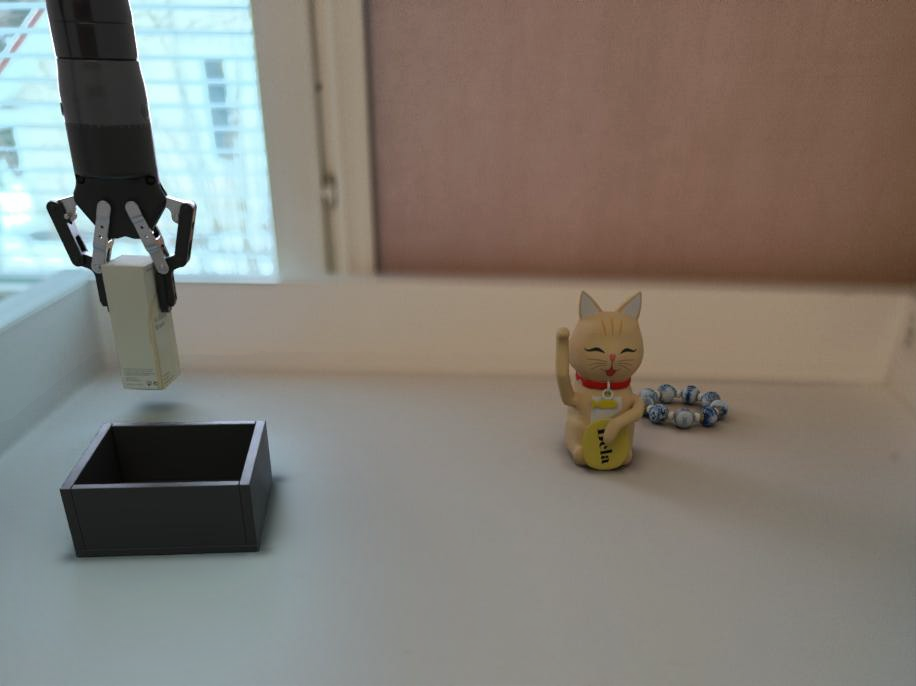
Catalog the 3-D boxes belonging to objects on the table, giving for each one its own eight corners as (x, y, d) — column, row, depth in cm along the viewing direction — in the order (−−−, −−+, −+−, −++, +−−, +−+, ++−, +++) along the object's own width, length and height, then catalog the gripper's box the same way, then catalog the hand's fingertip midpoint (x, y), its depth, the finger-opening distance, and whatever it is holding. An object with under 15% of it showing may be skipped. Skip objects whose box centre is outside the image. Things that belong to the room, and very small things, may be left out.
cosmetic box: (164, 392, 94) (144, 267, 87) (121, 390, 94) (98, 265, 87) (182, 373, 99) (165, 254, 92) (141, 372, 99) (121, 252, 92)
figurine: (553, 475, 84) (565, 307, 76) (543, 436, 92) (553, 281, 84) (645, 475, 84) (666, 308, 76) (627, 437, 92) (645, 282, 84)
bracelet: (621, 419, 97) (623, 401, 95) (650, 393, 104) (652, 376, 103) (712, 436, 93) (715, 417, 92) (735, 408, 100) (738, 390, 99)
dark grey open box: (76, 557, 69) (58, 489, 66) (116, 484, 80) (103, 423, 77) (258, 551, 70) (249, 484, 67) (272, 480, 82) (265, 420, 79)
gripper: (194, 117, 87) (217, 302, 96) (38, 113, 85) (77, 302, 95) (181, 122, 81) (207, 320, 90) (12, 118, 79) (56, 320, 88)
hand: (140, 310), depth 92 cm, fingers closed on cosmetic box, 4 cm apart
